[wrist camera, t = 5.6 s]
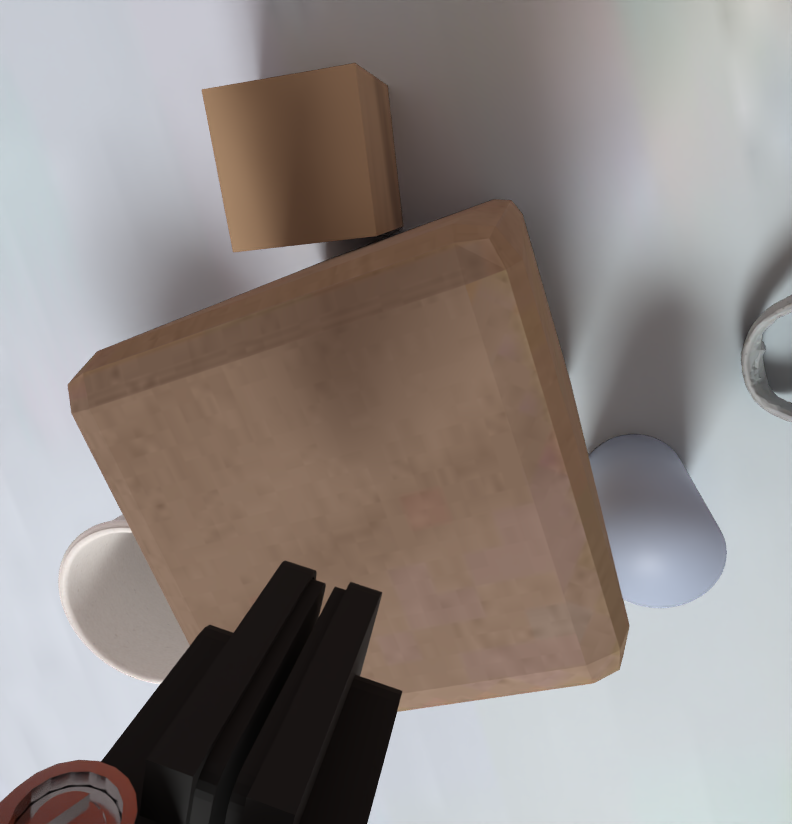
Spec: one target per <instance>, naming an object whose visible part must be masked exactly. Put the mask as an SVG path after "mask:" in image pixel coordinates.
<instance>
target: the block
mask: <svg viewBox="0 0 792 824" xmlns="http://www.w3.org/2000/svg"><path fill="white" fill-rule="evenodd" d="M68 391H69V398H70V406H71V413H72V415H73V417H74V419H75V421H76V423H77V425H78V427H79V429H80V431H81V433H82V435H83V437H84V439H85V441H86V443H87V445H88V447H89V449H90V451H91V453H92V455H93V457H94V459H95V460H96V462H97V464H98V466H99V468H100V470H101V472H102V474H103V476H104V478H105V480H106V482H107V484H108V486H109V488H110V490H111V492H112V494H113V496H114V498H115V500H116V502H117V504H118V506H119V508H120V510H121V512H122V513H123V515H124V517H125V519H126V521H127V523H128V525H129V527H130V529H131V531H132V533H133V535H134V537H135V539H136V541H137V543H138V545H139V547H140V549H141V551H142V553H143V555H144V557H145V559H146V561H147V563H148V565H149V566H150V568H151V570H152V572H153V574H154V576H155V578H156V580H157V582H158V584H159V586H160V588H161V590H162V592H163V594H164V596H165V598H166V600H167V602H168V604H169V606H170V608H171V610H172V612H173V614H174V616H175V618H176V620H177V621H178V623H179V625H180V627H181V629H182V631H183V633H184V635H185V637H186V639H187V641H188V643H189V645H191V644H192V642H193V641H194V640H195V638H196V637H197V636H198V634H199V633H200V632H201V631H202V630H203V629H204V628H205V627H206V626H208V625H213V626H215V627H218V628H221V629H224V630H227V631H230V632H233V633H234V631H235V630H236V628H237V627H238V625H239V624H240V623H241V621H242V620H243V618H244V617H245V615H246V614H247V612H248V611H249V610H250V608H251V607H252V605H253V604H254V602H255V601H256V599H257V598H258V596H259V595H260V594H261V592H262V591H263V589H264V588H265V586H266V585H267V583H268V582H269V580H270V579H271V578H272V576H273V575H274V573H275V572H276V570H277V569H278V567H279V566H280V565H281V563H282V562H283V561H285V560H286V561H289V562H292V563H295V564H298V565H301V566H304V567H307V568H310V569H313V570H316V572H317V576H316V580H317V581H320V582H323V583H325V584H326V588H325V593H324V597H323V601H322V606H321V610H320V614H321V612H322V610H323V608H324V606H325V604H326V602H327V600H328V598H329V596H330V595H331V593H332V591H333V589H334V587H335V586H336V587H339V588H342V589H345V590H346V589H347V587H348V585H349V583H350V582H353V583H356V584H359V585H362V586H365V587H368V588H371V589H374V590H377V591H380V592H382V596H381V600H380V604H379V608H378V612H377V615H376V619H375V623H374V627H373V630H372V634H371V638H370V641H369V645H368V649H367V653H366V656H365V660H364V664H363V667H362V671H361V675H360V676H361V677H364V678H367V679H370V680H373V681H375V682H378V683H381V684H384V685H387V686H390V687H393V688H396V689H399V690H402V695H401V699H400V703H399V706H398V710H397V712H399V711H406V710H412V709H419V708H426V707H433V706H440V705H447V704H454V703H461V702H468V701H474V700H481V699H488V698H495V697H502V696H509V695H516V694H523V693H530V692H537V691H543V690H550V689H557V688H564V687H571V686H578V685H585V684H592V683H595V682H597V681H599V680H601V679H603V678H605V677H606V676H608V675H610V674H612V673H614V672H616V671H618V670H620V666H621V662H622V658H623V654H624V649H625V645H626V640H627V635H628V630H629V622H628V617H627V613H626V609H625V605H624V601H623V597H622V593H621V589H620V584H619V580H618V576H617V572H616V568H615V564H614V560H613V556H612V551H611V547H610V543H609V539H608V535H607V531H606V527H605V522H604V518H603V514H602V510H601V506H600V502H599V498H598V494H597V489H596V485H595V481H594V477H593V473H592V469H591V465H590V460H589V456H588V452H587V448H586V444H585V440H584V436H583V432H582V427H581V423H580V419H579V415H578V411H577V407H576V403H575V399H574V394H573V390H572V386H571V382H570V378H569V375H568V371H567V368H566V364H565V361H564V357H563V354H562V350H561V347H560V343H559V340H558V337H557V333H556V330H555V326H554V323H553V319H552V316H551V312H550V309H549V305H548V302H547V298H546V295H545V291H544V288H543V284H542V281H541V277H540V274H539V270H538V267H537V263H536V260H535V256H534V253H533V249H532V246H531V242H530V239H529V235H528V232H527V228H526V225H525V221H524V218H523V214H522V213H521V212H520V210H519V209H518V208H517V207H516V205H515V204H514V203H513V202H512V201H511V200H496V199H493V200H491V201H488V202H485V203H482V204H480V205H477V206H474V207H471V208H469V209H466V210H463V211H460V212H458V213H455V214H452V215H449V216H447V217H444V218H441V219H438V220H436V221H433V222H430V223H427V224H425V225H422V226H419V227H416V228H414V229H411V230H408V231H405V232H403V233H400V234H397V235H394V236H392V237H389V238H386V239H383V240H380V241H378V242H375V243H372V244H369V245H367V246H364V247H361V248H358V249H356V250H353V251H350V252H347V253H345V254H342V255H339V256H336V257H334V258H331V259H328V260H326V261H323V262H321V263H318V264H316V265H313V266H311V267H308V268H306V269H303V270H301V271H298V272H296V273H293V274H291V275H288V276H286V277H283V278H281V279H278V280H276V281H273V282H271V283H268V284H265V285H263V286H260V287H258V288H255V289H253V290H250V291H248V292H245V293H243V294H240V295H238V296H235V297H233V298H230V299H228V300H225V301H223V302H220V303H218V304H215V305H213V306H210V307H208V308H205V309H203V310H200V311H198V312H195V313H193V314H190V315H188V316H185V317H183V318H180V319H177V320H175V321H172V322H170V323H167V324H165V325H162V326H160V327H157V328H155V329H152V330H150V331H147V332H145V333H142V334H140V335H137V336H135V337H132V338H130V339H127V340H125V341H122V342H120V343H117V344H115V345H112V346H110V347H107V348H105V349H102V350H100V351H97V352H96V353H95V355H94V356H93V357H92V358H91V359H90V360H89V361H88V362H87V363H86V364H85V366H84V367H83V368H82V369H81V370H80V371H79V372H78V373H77V374H76V376H75V377H74V378H73V379H72V380H71V381H70V383H69V384H68ZM320 614H319V616H320Z"/></svg>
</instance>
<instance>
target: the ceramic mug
mask: <svg viewBox="0 0 792 824" xmlns="http://www.w3.org/2000/svg"><path fill="white" fill-rule="evenodd" d="M791 312H792V295H790V296H788V297H786V298H785V299H783V300H781V301H779V302H777V303H775V304H774V305H772V306H771V307H769V308H768V309H767V310H766V311H765V312H763V313H762V314H761V315H760V316H759V317H758V319H757V320H756V321H755V322H754V323H753V325H752V327H751V328H750V330H749V332H748V334H747V337H746V340H745V343H744V346H743V349H742V352H741V365H742V374H743V378H744V381H745V385H746V387H747V389H748V391H749V392H750V394H751V396H752V397H753V399H754V400H755V402H756V403H757V404H759V405H760V406H761V407H762V408H763V409H765V410H766V411H768V412H769V413H771V414H773V415H775V416H777V417H779V418H782V419H784V420H786V421H789V422H792V403H791V402H787V401H785V400H783V399H781V398H779V397H778V396H777V395H776V394H775V393H774V391H773V390H772V389H771V388H770V387H769V384H768V379H767V376H766V372H765V369H764V363H763V354H764V352H765V350H766V348H765V345H764V342H762V337H763V336H762V333H763V332H764V331H765V330H766V329H767V328H768V327H769V326H770V325H771V324H773V323H774V322H775V321H776V320H777V319H778V318H780V317H783V316H785V315H787V314H789V313H791Z"/></svg>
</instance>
